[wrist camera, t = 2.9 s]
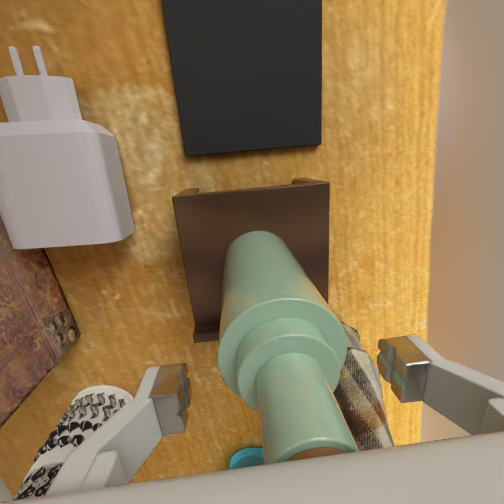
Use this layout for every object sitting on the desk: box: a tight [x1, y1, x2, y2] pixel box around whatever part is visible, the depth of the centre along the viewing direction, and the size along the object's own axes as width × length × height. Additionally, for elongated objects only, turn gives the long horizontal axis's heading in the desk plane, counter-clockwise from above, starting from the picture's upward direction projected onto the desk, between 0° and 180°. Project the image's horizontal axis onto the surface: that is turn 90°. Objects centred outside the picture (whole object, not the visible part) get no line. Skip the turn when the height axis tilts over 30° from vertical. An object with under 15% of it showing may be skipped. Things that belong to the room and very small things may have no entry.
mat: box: [161, 0, 322, 156], centre depth 23 cm, size 14×13×1 cm
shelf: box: [172, 178, 330, 343], centre depth 24 cm, size 12×12×8 cm
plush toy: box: [333, 323, 394, 451], centre depth 22 cm, size 14×14×25 cm
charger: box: [0, 45, 135, 249], centre depth 22 cm, size 5×9×15 cm
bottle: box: [217, 231, 359, 465], centre depth 14 cm, size 6×6×16 cm
